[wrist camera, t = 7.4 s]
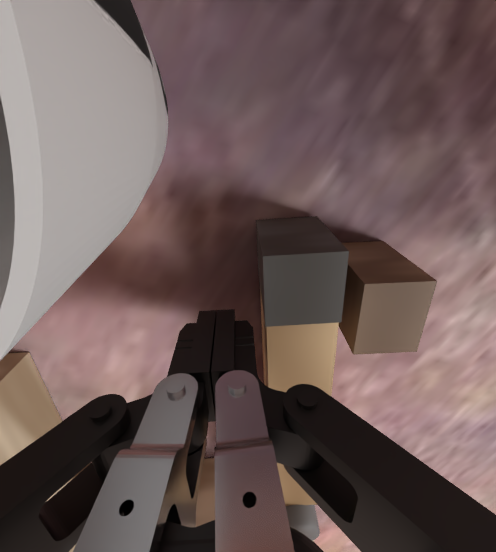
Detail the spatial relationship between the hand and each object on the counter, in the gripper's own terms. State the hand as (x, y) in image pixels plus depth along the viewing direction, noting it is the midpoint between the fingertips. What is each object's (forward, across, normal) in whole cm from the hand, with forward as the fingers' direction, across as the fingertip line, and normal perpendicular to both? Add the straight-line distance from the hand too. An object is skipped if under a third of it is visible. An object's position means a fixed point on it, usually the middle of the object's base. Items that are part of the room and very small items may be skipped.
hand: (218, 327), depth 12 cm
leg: (+2, -3, +4) cm, 6 cm away
